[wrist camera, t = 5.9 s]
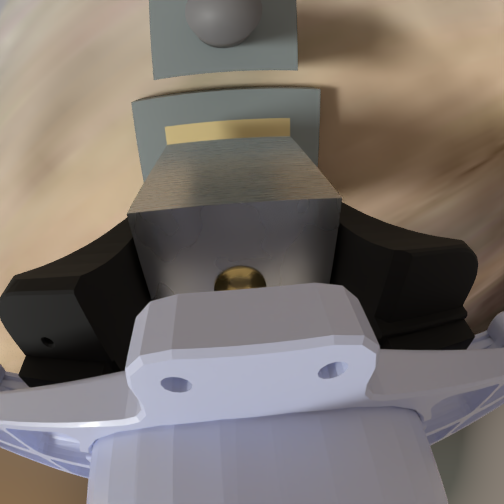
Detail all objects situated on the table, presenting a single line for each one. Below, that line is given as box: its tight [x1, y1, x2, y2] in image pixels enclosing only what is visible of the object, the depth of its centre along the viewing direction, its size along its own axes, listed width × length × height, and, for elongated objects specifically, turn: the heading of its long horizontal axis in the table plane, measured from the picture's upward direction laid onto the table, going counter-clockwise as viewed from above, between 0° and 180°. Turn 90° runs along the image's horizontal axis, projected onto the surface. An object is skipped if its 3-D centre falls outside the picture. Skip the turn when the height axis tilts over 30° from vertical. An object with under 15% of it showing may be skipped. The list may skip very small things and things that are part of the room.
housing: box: [127, 136, 342, 301], centre depth 11 cm, size 5×5×6 cm
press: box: [131, 0, 320, 182], centre depth 13 cm, size 18×10×9 cm, turn 2°
